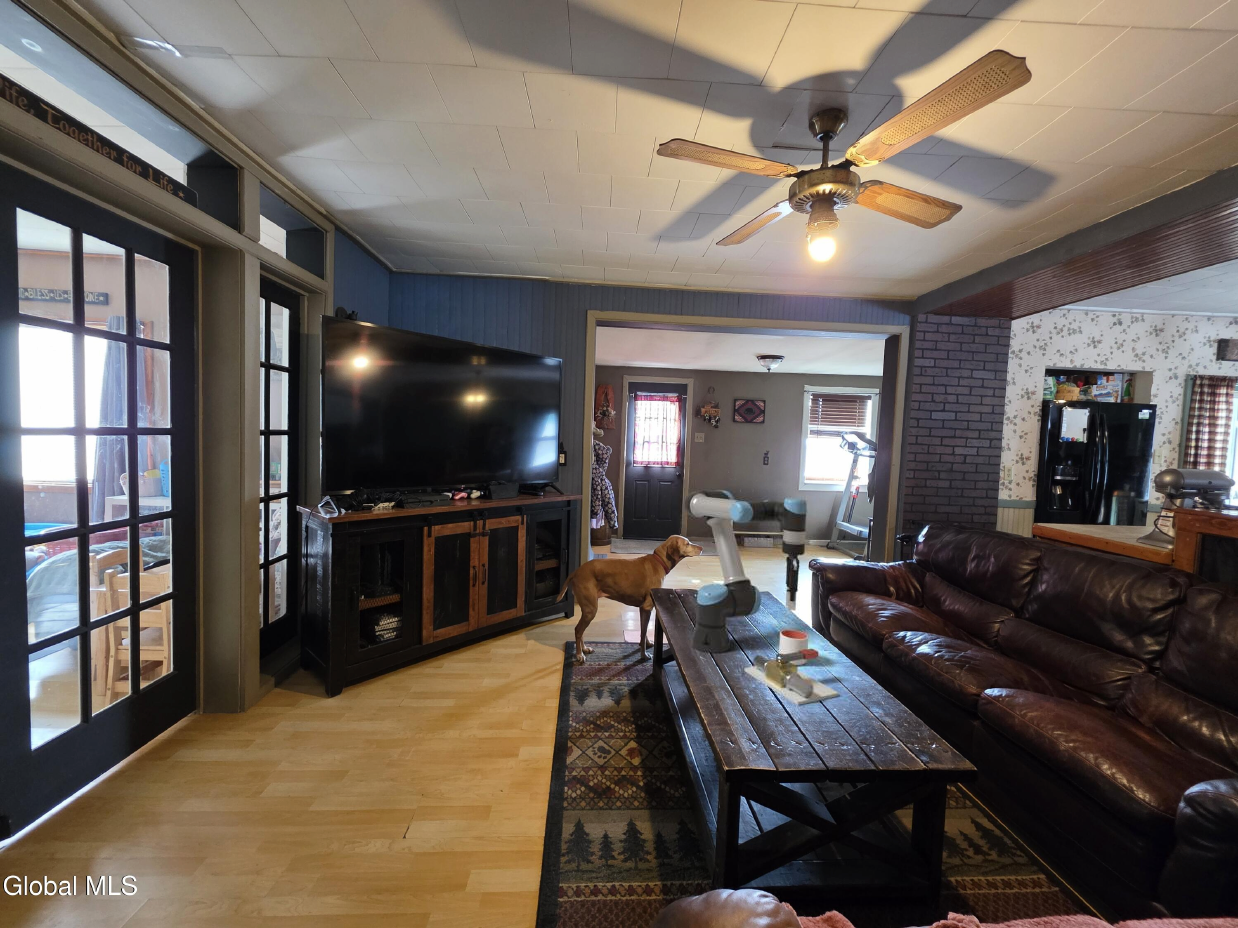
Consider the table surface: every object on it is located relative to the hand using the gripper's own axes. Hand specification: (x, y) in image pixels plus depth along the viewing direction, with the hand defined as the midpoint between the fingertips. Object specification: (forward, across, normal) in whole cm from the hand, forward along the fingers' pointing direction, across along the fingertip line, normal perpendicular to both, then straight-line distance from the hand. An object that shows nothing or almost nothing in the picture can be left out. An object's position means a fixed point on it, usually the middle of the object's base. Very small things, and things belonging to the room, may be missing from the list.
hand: (790, 607), depth 188 cm
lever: (+15, +9, +2) cm, 17 cm away
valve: (+23, +12, -4) cm, 26 cm away
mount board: (+23, +10, -1) cm, 25 cm away
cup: (+23, -10, +3) cm, 25 cm away
